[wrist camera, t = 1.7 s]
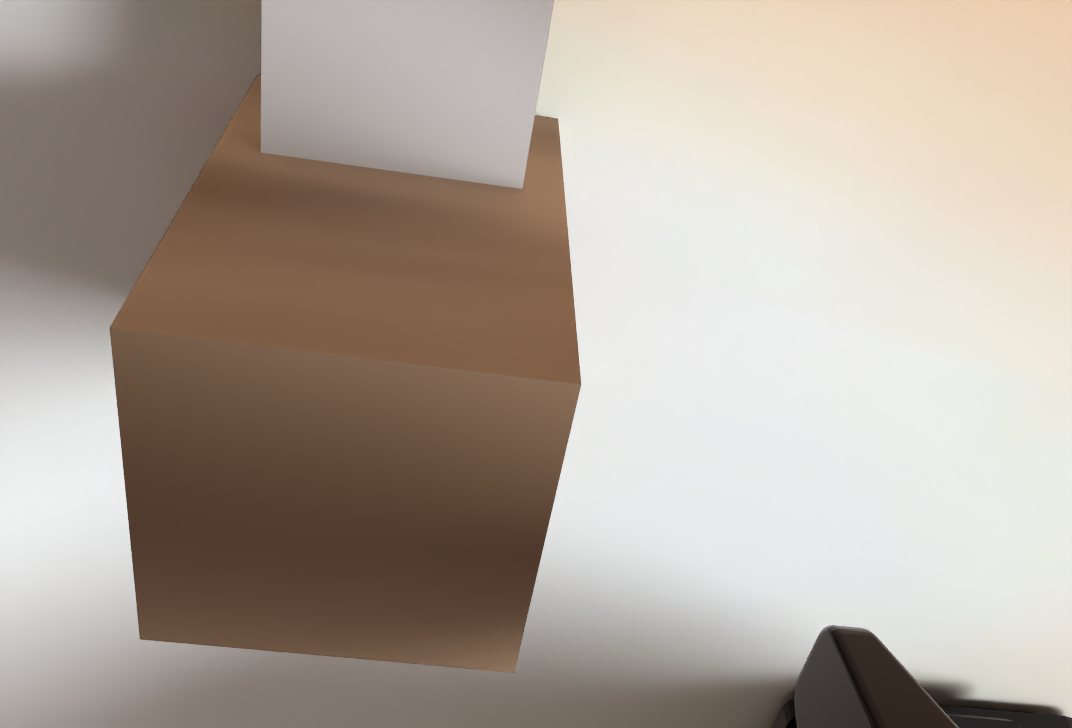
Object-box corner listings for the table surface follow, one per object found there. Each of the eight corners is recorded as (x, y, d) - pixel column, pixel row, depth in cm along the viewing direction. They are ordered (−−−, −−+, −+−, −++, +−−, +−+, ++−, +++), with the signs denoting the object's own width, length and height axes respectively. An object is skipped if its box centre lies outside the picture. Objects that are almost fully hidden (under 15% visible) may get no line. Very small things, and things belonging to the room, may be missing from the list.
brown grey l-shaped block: (514, 357, 16) (513, 672, 11) (256, 326, 16) (140, 638, 11) (709, -715, 9) (927, -1103, 4) (259, -823, 9) (-58, -1389, 4)
